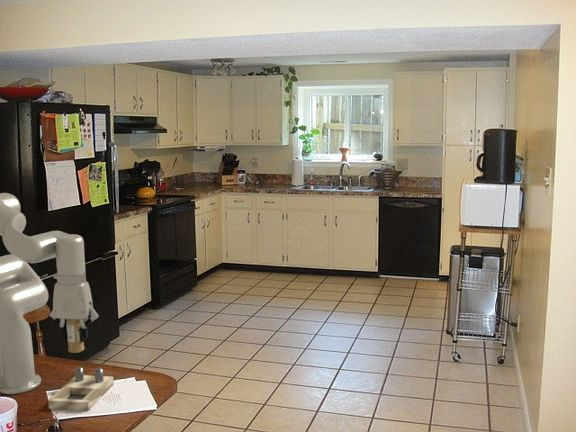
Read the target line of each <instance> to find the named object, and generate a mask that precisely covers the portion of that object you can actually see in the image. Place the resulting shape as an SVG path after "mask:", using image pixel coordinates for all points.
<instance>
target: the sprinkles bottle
mask: <svg viewBox="0 0 576 432" xmlns="http://www.w3.org/2000/svg"><path fill="white" fill-rule="evenodd" d="M66 322H67V323H66V325H67V338H68V340H67V344H68V345H67V347H68V349H67V351H68V352H69V353H73V354H78V353H81V352H83V351H84V350H85V341H84V342H81V341H80V328H81V324H80V321H79V320H73V319H66Z"/></svg>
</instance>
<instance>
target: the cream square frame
mask: <svg viewBox="0 0 576 432" xmlns="http://www.w3.org/2000/svg"><path fill="white" fill-rule="evenodd" d="M113 386H114V376H109V375H106V376H105V375H104V368H103V367H102V366H98V367H95V368H94V375H86V374H84V367H83V366H81V365H77V366H76V367H74V376H73V377H72V378H71V379H69V381H68V382H67V383H66V384H65V385H63V386H62V387H61V388H60V389H59V390H58V391H57V392H56V393H54V395H52V396H51V397H50V398H49V399H48V400H47V403H48V409H49V410H50V409H52V410H70V411H82V412H83V411H84V412H85V411H86V412H89V411H90V410H91V408H92V409H93V407H94V406H95V405H96V404H97V402H99V400H100V399H102V398H103V396H104V395H105V394H106V393H107V392H108V391H109V390H110V389H111V388H112V387H113Z"/></svg>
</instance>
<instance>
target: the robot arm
mask: <svg viewBox="0 0 576 432" xmlns="http://www.w3.org/2000/svg"><path fill="white" fill-rule="evenodd" d="M26 225H27V219H26V216H25V215H24V213H22V212H21V203H20V201H19V199H18V198H17V197H16V196H15V195H13V194H11V193H8V192H2V193H1V192H0V236H1V238H2V242H3V245H4V246H5V248H6V250H7V251H8V252H9V253H10V254H5V255H3V256H0V393H1V394H4V395H16V394H22V393H26V392H30V391H31V390H34V389H35V388H37V387H39V386H40V384H41V383H42V378H41V376H40V375H39V374H37V373H36V370H35V361H34V359H35V358H34V351H33V350H34V347H33V339H32V337H33V336H32V331H31V327H30V324H29V322H28V321H27V320H26V319H25V318H24V315H26V314H28V313H30V312H33V311H35V310H38V309H40V308H42V307H43V306H45V305H46V304H47V302H48V300H49V291H48V288H47V287H46V284H45V283H44V282H43V280H42V279H41V278H40V277H39V275H38V274H37V273H36V272H35V271H34V269H33V268H32V267H31V266H30V265H29V264H37V263H41V262H44V261H49V260H50V259H56V270H57V271H56V273H54V274H53V275H52V276H53V277H52V278H53V279H56V283H54V290H53V298H52V299H53V300H52V310H51V312H50V313H49V317H50V318H51V319H52V320H55V322H56V323H57V324H58V325H59V328H61V337H62V340H63V341H64V342H66V341H67V342H68V338H67V325H66V323H67V322H66V319H73V320H79V321H80V324H81V328H80V341H81V342H84V343H85V341H86V340H87V339H88V337H89V327H88V326H89V325H90V324H91V323H93V322H94V321H95V320H97V319H98V318H99V317H100V316H99V314H98V313H97V311H96V310H95V308H94V306H93V298H92V293H91V292H92V291H91V287H90V284H89V281H87V277H86V276H87V275H86V273H87V272H86V260H85V257H86V256H85V242H84V237H82V236H81V235H79V234H74V233H73V234H72V233H71V234H69V233H66V232H63V231H60V230H51V231H48V232H44V233H39V234H35V235H32V236H31V235H30V236H29V235H26V234H24V233H23V231H25V227H26ZM89 316H90V317H89Z"/></svg>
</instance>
